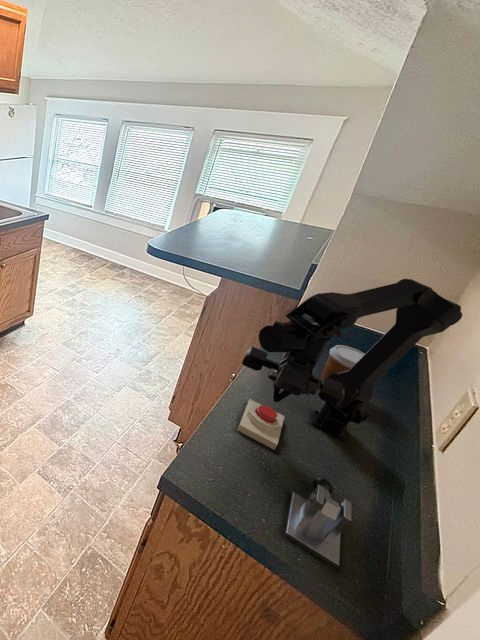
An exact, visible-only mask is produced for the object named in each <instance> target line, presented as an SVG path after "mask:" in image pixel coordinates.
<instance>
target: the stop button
mask: <svg viewBox="0 0 480 640" xmlns="http://www.w3.org/2000/svg"><path fill="white" fill-rule="evenodd" d="M260 405H261V406H259V407H258V409H257V411H256V414H257V416H258V417H260V418H261V419H262V420H264V421H266V422H270V423H272V422H274V421H275V419H276V418H277V413H278V412H277V413H276V410H275V409H274V408H272V407H270V406H268V405H264V404H260Z"/></svg>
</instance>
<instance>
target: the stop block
mask: <svg viewBox="0 0 480 640" xmlns="http://www.w3.org/2000/svg"><path fill="white" fill-rule="evenodd" d="M245 405H246V406H245V408H244V410H243V414H242V416H241V418H240V421H239V424H238V427H237V431H238V432H240V433H242V434H243V435H245V436H247V437H249V438H251V439H253V440H255V441H257V442H259V443H260V444H263V445H264V446H266V447H268V448H269V449H272V450H273V451H274V450H276V448H277V446H278V445H279V441H280V437H281V433H282V430H283V429H282V428H283V425H284V420H285V415H283V414H281V413H280V412H276V411H275V412H276V413H277V418H276V419H275V421H274V422H272V423H270V422H266V421H264V420H262V419H261V418H260V417H258V416H257V414H256V411H257V409H258V407H259V406H261V405H262V404H261V403H258V402H256V401H255V400H253V399H250V398H249V399H248V402H247V403H246V404H245Z"/></svg>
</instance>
